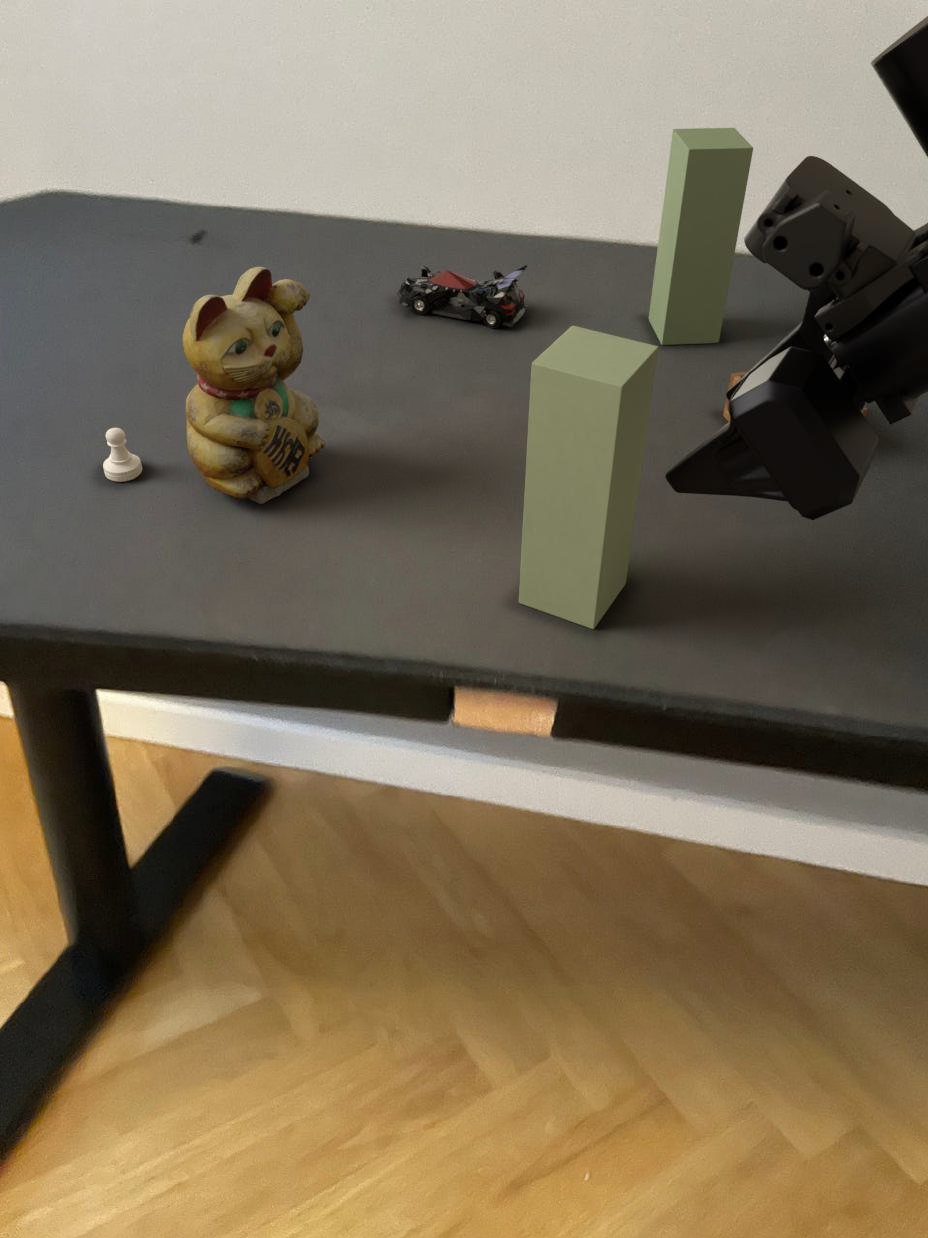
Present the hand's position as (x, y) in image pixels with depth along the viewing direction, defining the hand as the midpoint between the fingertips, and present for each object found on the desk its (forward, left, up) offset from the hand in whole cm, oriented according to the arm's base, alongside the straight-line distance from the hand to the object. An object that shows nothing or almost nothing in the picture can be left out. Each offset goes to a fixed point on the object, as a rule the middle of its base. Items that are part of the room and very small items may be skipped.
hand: (702, 439), depth 55 cm
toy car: (+23, -39, -13) cm, 47 cm away
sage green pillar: (+6, -2, -13) cm, 14 cm away
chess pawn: (+39, -7, -13) cm, 42 cm away
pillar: (+3, -40, -13) cm, 42 cm away
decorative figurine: (+30, -9, -13) cm, 34 cm away
